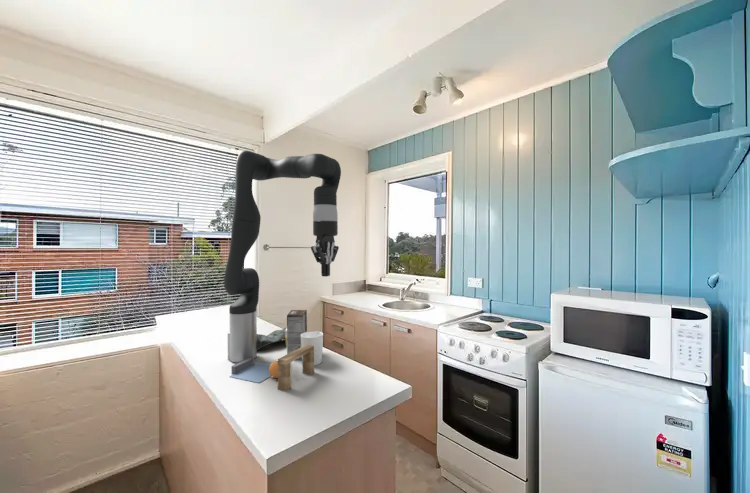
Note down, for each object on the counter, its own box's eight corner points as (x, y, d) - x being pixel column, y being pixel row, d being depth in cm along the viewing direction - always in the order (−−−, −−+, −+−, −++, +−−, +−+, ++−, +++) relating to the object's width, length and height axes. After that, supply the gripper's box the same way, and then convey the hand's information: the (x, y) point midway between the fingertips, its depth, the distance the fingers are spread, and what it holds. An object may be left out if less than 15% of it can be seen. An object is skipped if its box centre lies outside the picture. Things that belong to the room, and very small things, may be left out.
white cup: (318, 367, 103) (318, 338, 103) (296, 365, 105) (296, 336, 105) (326, 359, 111) (326, 331, 111) (306, 357, 112) (306, 330, 112)
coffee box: (291, 350, 120) (290, 309, 120) (307, 349, 121) (307, 309, 121) (286, 358, 111) (286, 314, 111) (304, 358, 112) (303, 314, 112)
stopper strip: (231, 373, 98) (231, 366, 98) (250, 364, 106) (250, 357, 106) (235, 374, 98) (235, 366, 98) (253, 365, 105) (253, 358, 105)
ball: (280, 370, 92) (275, 383, 93) (290, 363, 97) (285, 376, 98) (268, 361, 94) (263, 374, 94) (279, 355, 98) (274, 368, 99)
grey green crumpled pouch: (254, 354, 116) (311, 339, 133) (253, 335, 116) (310, 323, 133) (242, 349, 126) (297, 335, 142) (241, 331, 126) (296, 320, 143)
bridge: (278, 389, 87) (277, 359, 87) (306, 370, 100) (306, 344, 100) (286, 391, 86) (286, 360, 86) (314, 372, 99) (313, 345, 99)
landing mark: (229, 376, 96) (229, 376, 96) (257, 363, 107) (257, 362, 107) (258, 383, 91) (258, 382, 91) (284, 368, 102) (284, 367, 102)
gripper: (326, 222, 102) (326, 274, 102) (302, 219, 89) (302, 277, 89) (346, 221, 99) (346, 274, 99) (324, 218, 86) (324, 278, 86)
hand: (325, 276), depth 94 cm, fingers closed
